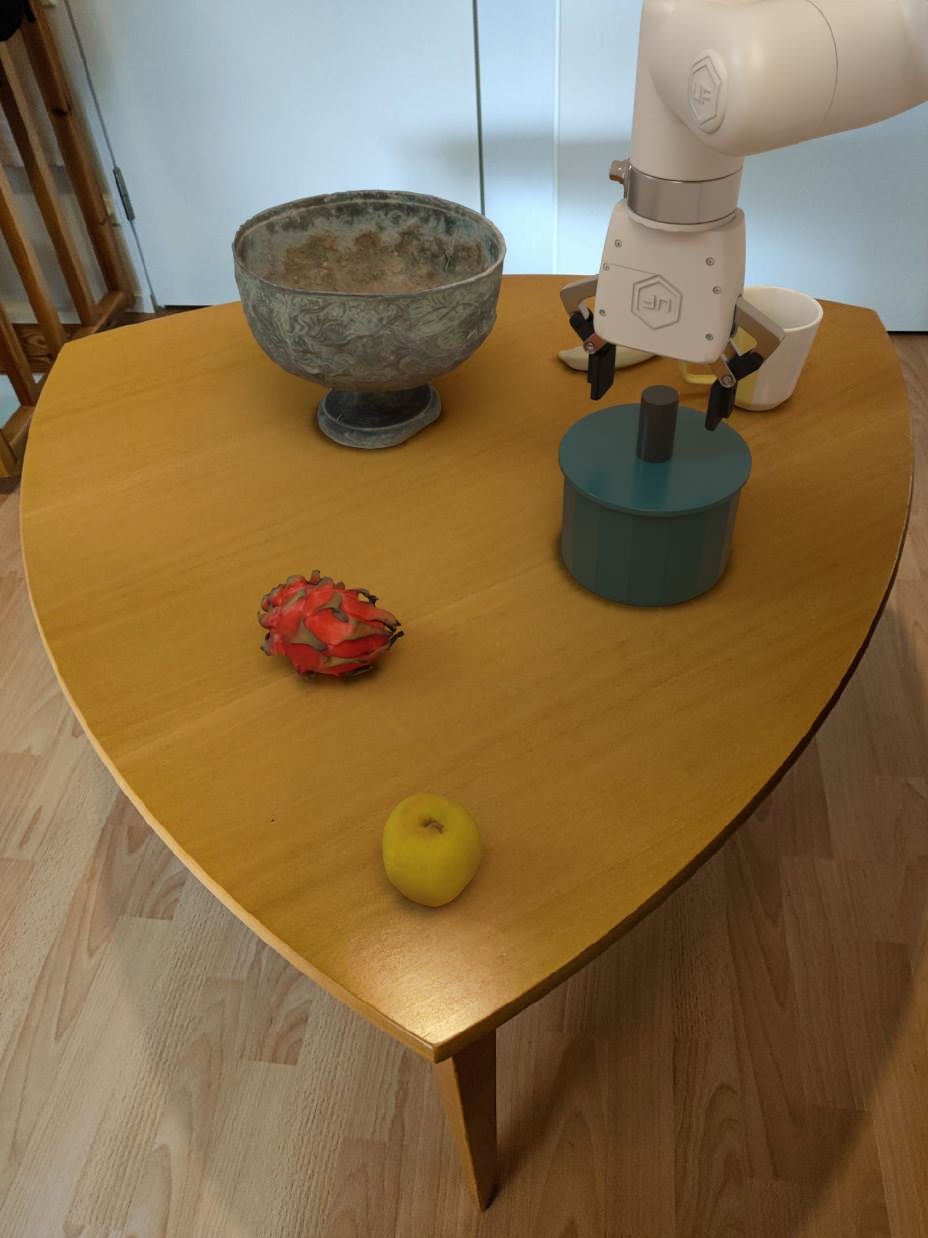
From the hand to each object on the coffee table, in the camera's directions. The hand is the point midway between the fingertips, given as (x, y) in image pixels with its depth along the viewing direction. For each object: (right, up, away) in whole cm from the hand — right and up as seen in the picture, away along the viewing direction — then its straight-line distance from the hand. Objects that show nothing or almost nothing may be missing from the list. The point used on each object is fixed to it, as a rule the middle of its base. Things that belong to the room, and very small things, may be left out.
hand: (657, 406), depth 80 cm
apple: (-17, -35, -14) cm, 41 cm away
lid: (0, -4, +3) cm, 5 cm away
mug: (+14, +7, +28) cm, 33 cm away
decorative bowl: (-24, +5, +29) cm, 38 cm away
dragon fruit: (-26, -20, +2) cm, 33 cm away
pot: (+1, -11, +10) cm, 15 cm away
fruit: (+3, +14, +37) cm, 39 cm away
